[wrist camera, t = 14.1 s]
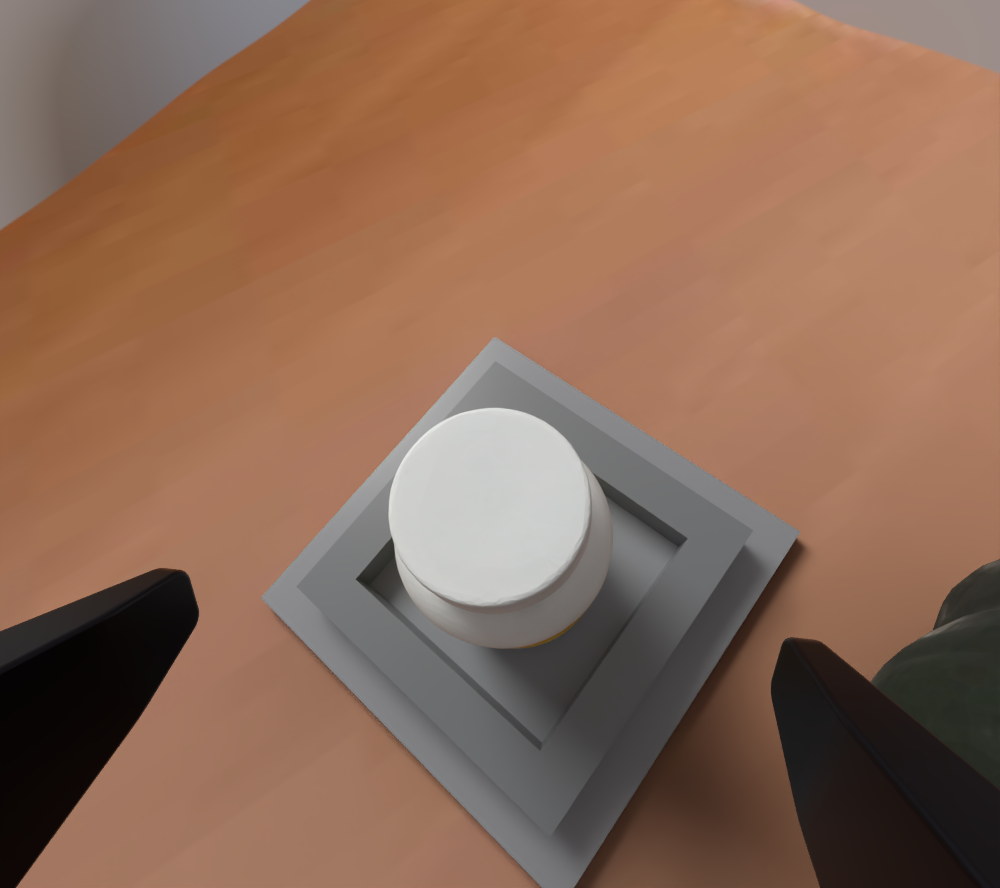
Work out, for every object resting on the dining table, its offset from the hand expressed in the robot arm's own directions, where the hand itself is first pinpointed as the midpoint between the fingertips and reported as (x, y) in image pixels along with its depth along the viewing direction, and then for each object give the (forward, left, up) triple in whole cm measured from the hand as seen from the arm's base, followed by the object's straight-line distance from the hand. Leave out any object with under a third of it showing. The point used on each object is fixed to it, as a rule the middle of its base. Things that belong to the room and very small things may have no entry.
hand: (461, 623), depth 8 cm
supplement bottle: (+2, +1, -11) cm, 11 cm away
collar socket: (+2, +1, -12) cm, 12 cm away
